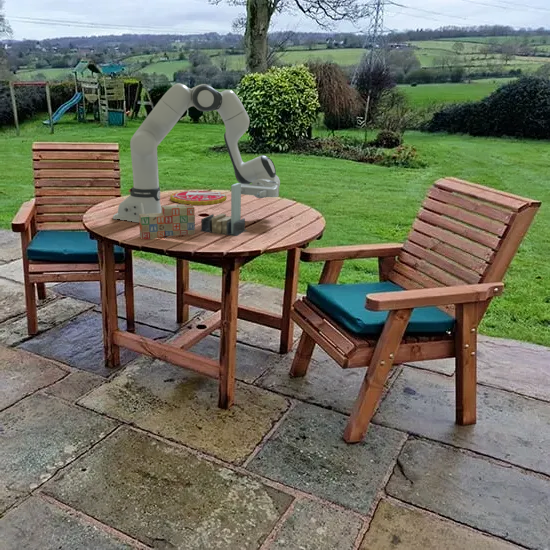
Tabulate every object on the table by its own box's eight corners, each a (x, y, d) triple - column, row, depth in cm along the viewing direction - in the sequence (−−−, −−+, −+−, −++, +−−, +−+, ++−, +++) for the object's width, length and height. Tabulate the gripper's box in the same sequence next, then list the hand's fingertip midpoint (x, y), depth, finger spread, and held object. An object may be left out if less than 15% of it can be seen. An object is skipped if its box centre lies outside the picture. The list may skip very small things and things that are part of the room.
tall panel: (231, 233, 218) (231, 185, 211) (237, 230, 223) (237, 182, 216) (234, 234, 217) (234, 185, 211) (240, 230, 223) (240, 183, 216)
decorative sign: (221, 189, 301) (231, 200, 274) (221, 193, 302) (231, 205, 275) (167, 190, 294) (172, 201, 267) (168, 194, 294) (173, 206, 267)
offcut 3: (222, 233, 218) (222, 220, 216) (230, 228, 225) (230, 216, 223) (226, 233, 217) (226, 220, 216) (235, 229, 225) (235, 216, 223)
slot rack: (199, 233, 220) (199, 219, 218) (212, 227, 230) (211, 213, 228) (236, 238, 215) (236, 224, 213) (247, 232, 225) (247, 218, 223)
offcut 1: (211, 232, 219) (211, 217, 217) (221, 227, 227) (221, 213, 225) (216, 232, 219) (216, 218, 217) (225, 227, 226) (225, 213, 224)
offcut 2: (216, 232, 218) (216, 221, 216) (226, 227, 227) (226, 216, 225) (220, 233, 217) (220, 221, 216) (231, 228, 226) (231, 216, 224)
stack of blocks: (141, 240, 208) (140, 209, 204) (139, 236, 214) (138, 206, 210) (195, 236, 216) (194, 207, 212) (192, 232, 221) (191, 203, 217)
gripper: (240, 179, 241) (226, 184, 229) (282, 182, 234) (270, 188, 222) (240, 193, 243) (226, 198, 231) (281, 196, 236) (270, 202, 224)
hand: (248, 193), depth 226 cm, fingers open, 8 cm apart
